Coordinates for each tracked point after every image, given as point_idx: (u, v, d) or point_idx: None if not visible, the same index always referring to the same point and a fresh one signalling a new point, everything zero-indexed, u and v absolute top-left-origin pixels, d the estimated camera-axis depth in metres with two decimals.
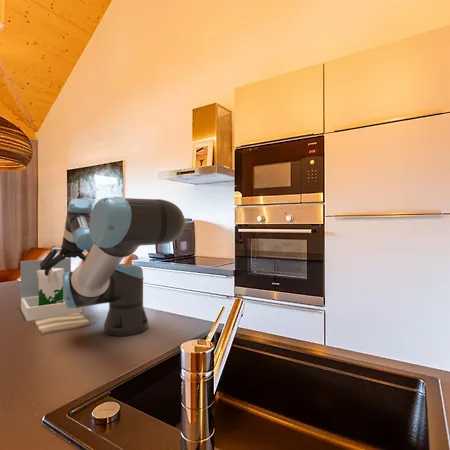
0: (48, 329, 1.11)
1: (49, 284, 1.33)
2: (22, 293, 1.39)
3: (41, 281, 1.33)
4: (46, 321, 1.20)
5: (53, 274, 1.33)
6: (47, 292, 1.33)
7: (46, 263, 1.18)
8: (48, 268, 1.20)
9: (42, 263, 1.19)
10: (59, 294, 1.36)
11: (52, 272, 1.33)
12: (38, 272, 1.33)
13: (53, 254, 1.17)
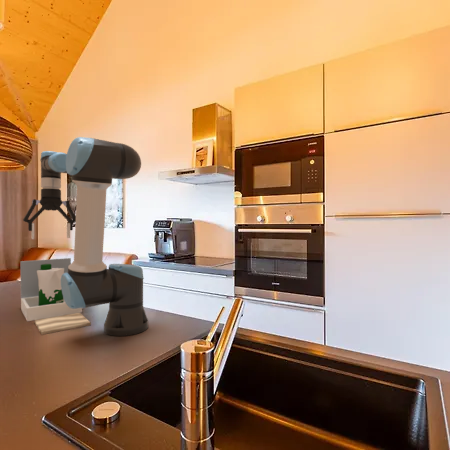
0: (48, 329, 1.11)
1: (49, 284, 1.33)
2: (22, 293, 1.39)
3: (41, 281, 1.33)
4: (46, 321, 1.20)
5: (53, 274, 1.33)
6: (47, 292, 1.33)
7: (28, 214, 1.30)
8: (31, 220, 1.31)
9: (25, 216, 1.30)
10: (59, 294, 1.36)
11: (52, 272, 1.33)
12: (38, 272, 1.33)
13: (33, 204, 1.31)
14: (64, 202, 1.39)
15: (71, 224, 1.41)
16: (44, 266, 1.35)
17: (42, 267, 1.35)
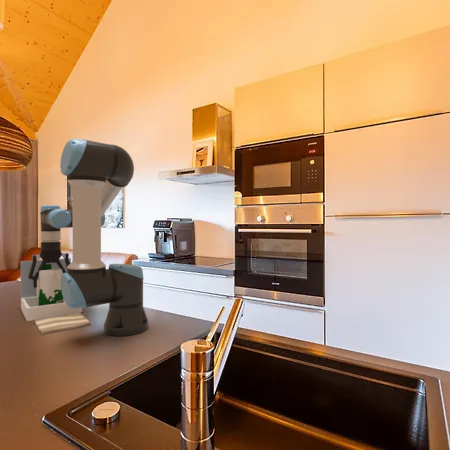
0: (48, 329, 1.11)
1: (49, 284, 1.33)
2: (22, 293, 1.39)
3: (41, 281, 1.33)
4: (46, 321, 1.20)
5: (53, 274, 1.33)
6: (47, 292, 1.33)
7: (32, 271, 1.31)
8: (35, 277, 1.32)
9: (29, 274, 1.32)
10: (59, 294, 1.36)
11: (52, 272, 1.33)
12: None
13: (34, 260, 1.32)
14: (64, 254, 1.40)
15: None
16: (44, 266, 1.35)
17: None
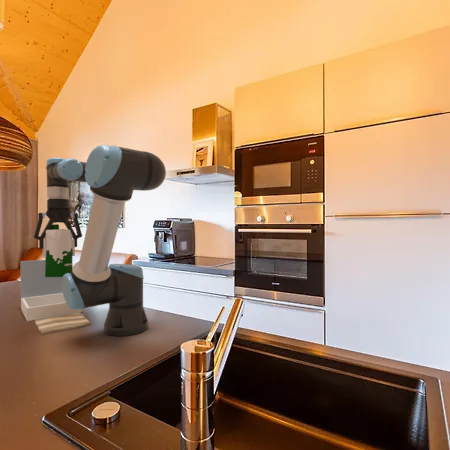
0: (48, 329, 1.11)
1: (57, 244, 1.20)
2: (22, 293, 1.39)
3: (48, 241, 1.20)
4: (46, 321, 1.20)
5: (61, 233, 1.20)
6: (55, 254, 1.20)
7: (37, 230, 1.19)
8: (42, 237, 1.19)
9: (34, 233, 1.19)
10: (68, 256, 1.23)
11: (60, 231, 1.20)
12: None
13: (40, 218, 1.19)
14: (72, 214, 1.27)
15: (75, 240, 1.27)
16: (51, 225, 1.22)
17: None
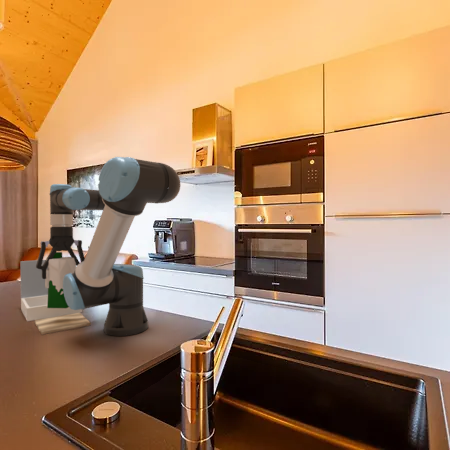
0: (48, 329, 1.11)
1: (60, 275, 1.15)
2: (22, 293, 1.39)
3: (51, 271, 1.15)
4: (46, 321, 1.20)
5: (65, 263, 1.16)
6: (58, 284, 1.15)
7: (40, 260, 1.14)
8: (44, 267, 1.15)
9: (37, 263, 1.15)
10: None
11: (64, 261, 1.16)
12: None
13: (43, 247, 1.15)
14: (76, 241, 1.22)
15: None
16: None
17: None
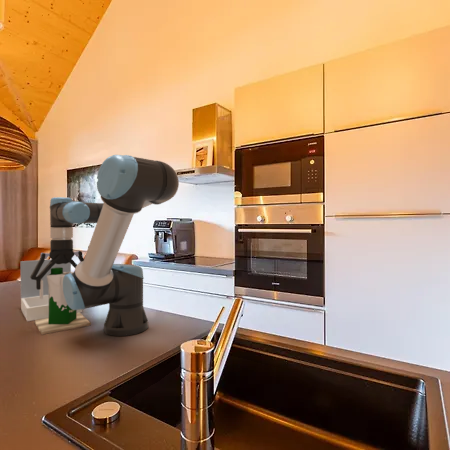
0: (48, 329, 1.11)
1: (61, 291, 1.15)
2: (22, 293, 1.39)
3: (52, 287, 1.15)
4: (46, 321, 1.20)
5: None
6: (59, 301, 1.15)
7: (36, 271, 1.13)
8: (39, 278, 1.14)
9: (32, 273, 1.14)
10: None
11: None
12: (48, 277, 1.16)
13: (42, 259, 1.14)
14: (76, 253, 1.22)
15: None
16: (54, 270, 1.18)
17: (53, 271, 1.18)
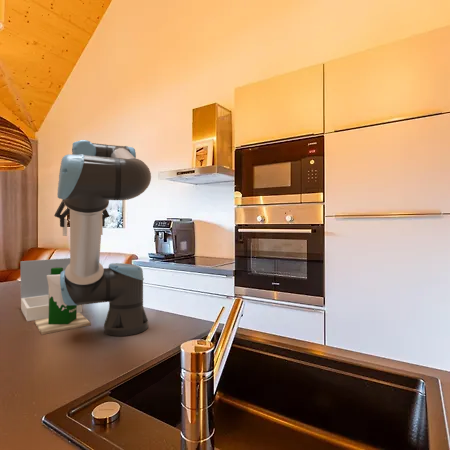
0: (48, 329, 1.11)
1: None
2: (22, 293, 1.39)
3: (52, 287, 1.15)
4: (46, 321, 1.20)
5: None
6: (59, 301, 1.15)
7: (60, 209, 1.20)
8: (63, 216, 1.21)
9: (56, 211, 1.21)
10: None
11: None
12: (48, 277, 1.16)
13: None
14: None
15: (103, 220, 1.32)
16: (55, 270, 1.18)
17: (53, 271, 1.18)
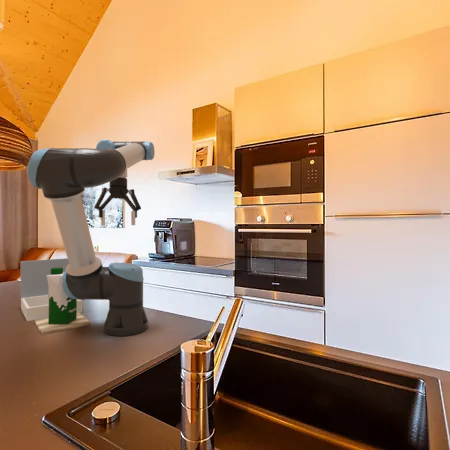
0: (48, 329, 1.11)
1: (61, 291, 1.16)
2: (22, 293, 1.39)
3: (52, 287, 1.15)
4: (46, 321, 1.20)
5: None
6: (59, 301, 1.15)
7: (99, 201, 1.36)
8: (102, 207, 1.37)
9: (96, 204, 1.37)
10: (73, 302, 1.18)
11: None
12: (48, 277, 1.16)
13: (104, 192, 1.37)
14: (129, 191, 1.45)
15: (136, 212, 1.47)
16: (55, 270, 1.18)
17: (53, 271, 1.18)
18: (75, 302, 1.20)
